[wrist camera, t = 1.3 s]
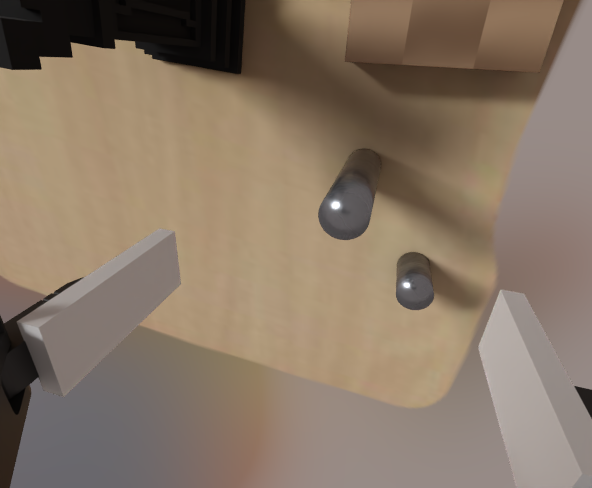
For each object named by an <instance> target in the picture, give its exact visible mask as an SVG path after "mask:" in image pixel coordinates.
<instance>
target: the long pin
mask: <svg viewBox="0 0 592 488" xmlns="http://www.w3.org/2000/svg"><path fill="white" fill-rule="evenodd" d="M380 170H381V161H380V158H379V157H378V155H377V154H376V153H375V152H373V151H372V150H369V149H359V150H356V151H355V152H353V153H352V154H351V155H350V156H349V158H348V160H347V161H346V163H345V165H344V166H343V168H342V170H341V171H340V173H339V175H338V176H337V178H336V180H335V182H334V183H333V185H332V187H331V188H330V190H329V192H328V193H327V195H326V197H325V198H324V200H323V202H322V204H321V206H320V208H319V213H318V217H319V222H320V224H321V226H322V228H323V229H324V231H325V232H326V233H328V234H329V235H330V236H332V237H334V238H337V239H340V240H350V239H354V238H357V237H358V236H360V235H361V234H363V233H364V232H365V230H366V229H367V227H368V225H369V221H370V217H371V212H372V207H373V203H374V198H375V193H376V189H377V184H378V179H379V175H380Z"/></svg>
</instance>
